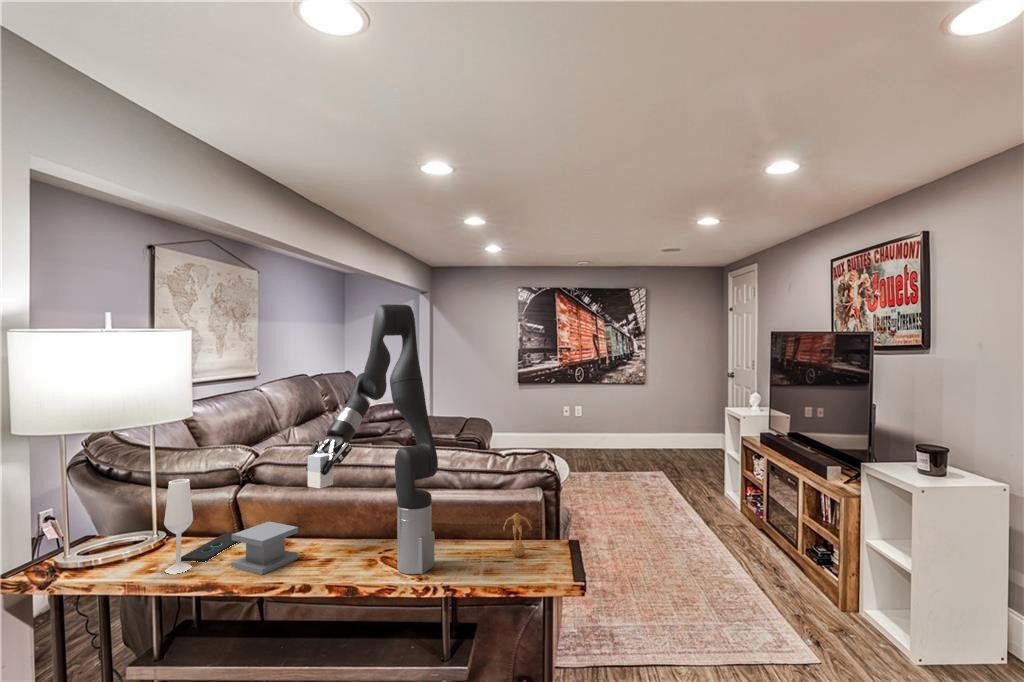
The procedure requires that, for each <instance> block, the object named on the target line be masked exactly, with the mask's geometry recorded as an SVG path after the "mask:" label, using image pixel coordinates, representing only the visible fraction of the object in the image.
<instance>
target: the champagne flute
mask: <svg viewBox="0 0 1024 682" xmlns="http://www.w3.org/2000/svg"><path fill="white" fill-rule="evenodd" d="M167 487H168V488H167V495H166V502H165V504H166V505H165V511H164V512H165V513H164V521H163V524H164V527H165V528H166V529H167V530H168V531H169V532H171V533H172V534H175V563H172V565H171V566H169V567H168V568H166V569H165V570H164V571H165V572H166V573H169V574H173V575H178V574H177V573H180V574H183V573H186V572H188V571H187V570H188V569H190V568H191V567H192V566H193V565H192V566H191V564H189V563H187V562H181V557H182V534H183V533H184V532H185V531H186V530H187V529H188V528H189V527H190V526H191V525H192V523H193V521H194V514H193V513H194V511H193V503H192V494H191V483H190V479H189V478H179V479H173V480H170V481H169V482H168V486H167ZM192 568H193V567H192ZM190 570H191V569H190ZM185 571H186V572H185ZM182 572H183V573H182Z"/></svg>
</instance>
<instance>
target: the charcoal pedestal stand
mask: <svg viewBox="0 0 1024 682" xmlns="http://www.w3.org/2000/svg"><path fill="white" fill-rule="evenodd" d="M233 533H234V534H232V540H234V541H239V542H240V543H243V544H245V555H244V556H243V557H240V558H238V559H236V560H235V559H234V560H233V561H231V568H232V567H235V568H234V569H236V568H238V569H237V570H240V569H241V571H244V570H245V571H244V572H248V571H249V573H252V574H255V573H256V575H259V574H260V576H263V574H264V575H266V574H268V573H270V572H272V571H275V570H277V569H279V568H281V567H284V566H285V565H287V564H290V563H292V562H294V561H297V560H298V559H299V553H297V552H294V551H289V550H285V549H286V545H285V543H286V542H285V541H286V538H288V537H290V536H293V535H295V534H298V533H299V526H294V525H289V524H284V523H280V522H279V523H278V522H275V521H266V522H263V523H260V524H257V525H254V526H252V527H249V528H246V529H243V530H241V531H237V532H233ZM280 566H281V567H280ZM278 567H279V568H278ZM276 568H277V569H276ZM274 569H275V570H274ZM269 571H270V572H269ZM267 572H268V573H267ZM265 573H266V574H265Z"/></svg>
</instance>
